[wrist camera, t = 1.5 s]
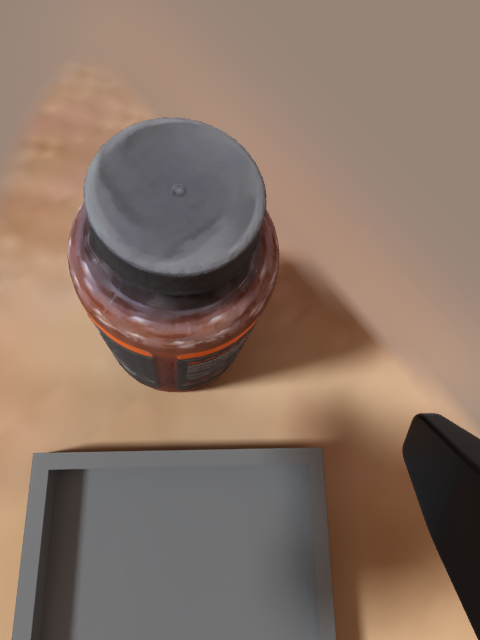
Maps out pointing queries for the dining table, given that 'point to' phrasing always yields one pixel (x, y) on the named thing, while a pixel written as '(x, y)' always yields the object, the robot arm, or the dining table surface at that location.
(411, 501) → the dining table surface
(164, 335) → the supplement bottle
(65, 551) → the tray
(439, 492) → the robot arm
